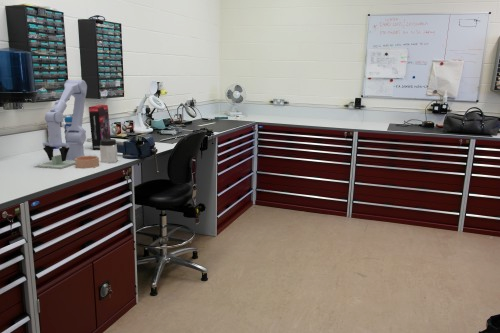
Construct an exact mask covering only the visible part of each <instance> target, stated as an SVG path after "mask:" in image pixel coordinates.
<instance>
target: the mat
mask: <svg viewBox="0 0 500 333" xmlns="http://www.w3.org/2000/svg"><path fill="white" fill-rule="evenodd" d="M72 166H73V167H74V166H75V164H72V165H69V166H66V167H63V168H49V167H37V165H36V166H34V168H40V169H41V168H42V169H54V170H64V169H66V168H70V167H72Z"/></svg>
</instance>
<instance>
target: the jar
mask: <svg viewBox="0 0 500 333" xmlns="http://www.w3.org/2000/svg"><path fill="white" fill-rule="evenodd" d="M99 151H100V152H99V153H100V162H101V163H107V164H113V163H117V162H118V147H117V140H116V139H114V138H111V139H103V140H100V150H99Z"/></svg>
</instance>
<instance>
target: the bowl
mask: <svg viewBox="0 0 500 333" xmlns="http://www.w3.org/2000/svg"><path fill="white" fill-rule="evenodd" d="M99 159H100V158H99V157H98V155H84V156H82V157H77V158H75V160H74V161H75V165H74V167H75V168H76V169H77V168H79V169H80V168H81V169H90V168H91V169H95V168H97V167H100V160H99Z"/></svg>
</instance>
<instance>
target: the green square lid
mask: <svg viewBox="0 0 500 333" xmlns="http://www.w3.org/2000/svg"><path fill="white" fill-rule="evenodd" d="M72 164H75V160H66V161H62V159H61V154H57V155H53V157H52V160H51V161H48V162H45V163H40V164H37V165H36V166H37V167H49V168H48V169H51V168H63V167H66V166H69V165H72ZM37 167H36V168H37Z"/></svg>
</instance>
